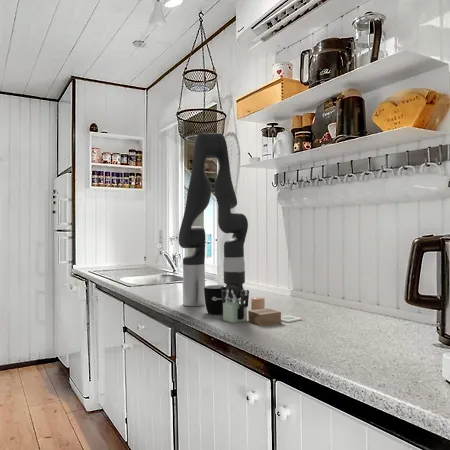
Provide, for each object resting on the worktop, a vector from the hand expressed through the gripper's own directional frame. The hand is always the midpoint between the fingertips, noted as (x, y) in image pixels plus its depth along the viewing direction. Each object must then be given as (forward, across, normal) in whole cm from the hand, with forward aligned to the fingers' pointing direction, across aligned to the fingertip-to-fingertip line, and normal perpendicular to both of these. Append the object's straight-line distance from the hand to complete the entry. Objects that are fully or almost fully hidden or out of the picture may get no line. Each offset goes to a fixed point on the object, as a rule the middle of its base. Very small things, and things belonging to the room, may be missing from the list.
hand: (235, 317), depth 151 cm
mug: (+1, -14, +3) cm, 14 cm away
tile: (+1, +11, +15) cm, 19 cm away
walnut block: (+1, +9, +6) cm, 11 cm away
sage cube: (+1, 0, 0) cm, 1 cm away
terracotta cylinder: (+1, -2, +12) cm, 12 cm away
